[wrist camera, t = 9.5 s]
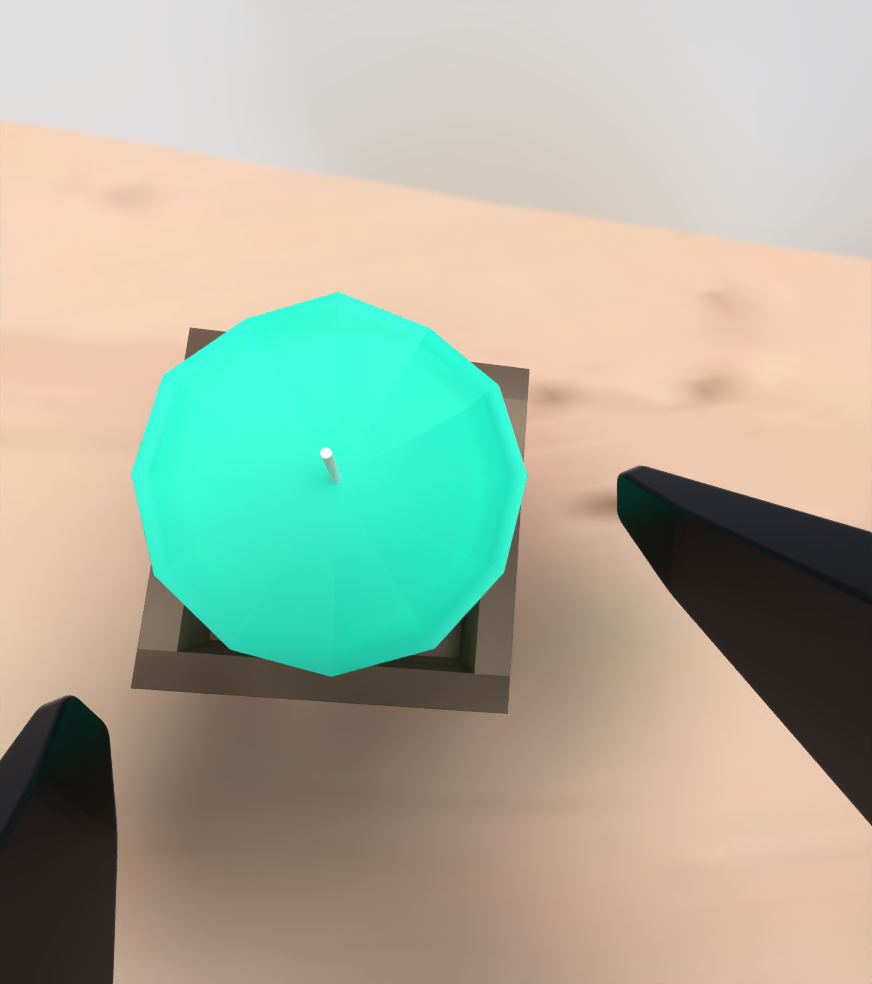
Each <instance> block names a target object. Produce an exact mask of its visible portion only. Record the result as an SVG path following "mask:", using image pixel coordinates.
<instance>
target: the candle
mask: <svg viewBox="0 0 872 984" xmlns="http://www.w3.org/2000/svg"><path fill="white" fill-rule="evenodd" d="M131 475H132V479H133V483H134V488H135V492H136V497H137V501H138V506H139V510H140V515H141V519H142V524H143V528H144V533H145V537H146V542H147V546H148V551H149V555H150V560H151V564H152V569H153V573H154V576H155V577H156V578H158V579H159V580H160V581H161V582H162V583H163V584H164V585H165V586H166V587H167V588H168V589H169V590H170V591H171V592H172V593H173V594H174V595H175V596H176V597H177V598H178V599H179V600H180V601H181V602H182V603H183V604H184V605H185V606H186V607H187V608H188V609H189V610H190V611H191V612H192V613H193V614H194V615H195V616H196V617H197V618H198V619H199V620H200V621H202V622H203V623H204V624H205V625H206V626H207V627H208V628H209V629H210V630H211V631H212V632H213V633H214V634H215V635H216V636H217V637H218V638H219V639H220V640H221V641H222V642H223V643H224V644H225V645H226V646H227V647H228V648H229V649H230V650H234V651H238V652H241V653H245V654H249V655H253V656H256V657H260V658H264V659H267V660H271V661H275V662H279V663H282V664H286V665H290V666H293V667H297V668H301V669H304V670H308V671H312V672H316V673H319V674H323V675H327V676H330V677H333V676H336V675H340V674H344V673H347V672H351V671H355V670H358V669H362V668H366V667H369V666H373V665H377V664H380V663H384V662H388V661H391V660H395V659H399V658H402V657H406V656H410V655H413V654H417V653H421V652H424V651H428V650H432V649H435V648H436V647H437V646H438V644H439V643H440V642H441V641H442V640H443V639H444V638H445V637H446V636H447V635H448V633H449V632H450V631H451V630H452V629H453V628H454V627H455V626H456V625H457V624H458V622H459V621H460V620H461V619H462V618H463V617H464V616H465V615H466V614H467V613H468V611H469V610H470V609H471V608H472V607H473V606H474V605H475V604H476V603H477V602H478V600H479V599H480V598H481V597H482V596H483V595H484V594H485V593H486V592H487V591H488V589H489V588H490V587H491V586H492V585H493V584H494V583H495V582H496V581H497V580H498V578H499V577H500V576H501V575H502V574H503V573H504V571H505V566H506V562H507V558H508V554H509V550H510V546H511V542H512V538H513V534H514V529H515V525H516V521H517V517H518V513H519V509H520V505H521V501H522V497H523V492H524V488H525V484H526V480H527V473H526V470H525V466H524V463H523V460H522V457H521V454H520V450H519V447H518V444H517V441H516V438H515V435H514V431H513V428H512V425H511V422H510V419H509V416H508V412H507V409H506V406H505V403H504V400H503V396H502V393H501V390H500V387H499V385H498V384H497V383H495V382H494V381H493V380H492V379H491V378H489V377H488V376H487V375H486V374H485V373H483V372H482V371H481V370H480V369H478V368H477V367H476V366H475V365H474V364H472V363H471V362H470V361H469V360H468V359H466V358H465V357H464V356H463V355H462V354H460V353H459V352H458V351H457V350H455V349H454V348H453V347H452V346H451V345H449V344H448V343H447V342H446V341H445V340H443V339H442V338H441V337H440V336H438V335H437V334H436V333H435V332H434V331H432V330H431V329H430V328H428V327H426V326H423V325H421V324H418V323H416V322H413V321H411V320H408V319H405V318H403V317H400V316H398V315H395V314H393V313H390V312H388V311H385V310H383V309H380V308H378V307H375V306H373V305H370V304H367V303H365V302H362V301H360V300H357V299H355V298H352V297H350V296H347V295H345V294H342V293H340V292H337V293H333V294H330V295H326V296H323V297H320V298H316V299H313V300H309V301H306V302H302V303H299V304H296V305H292V306H289V307H285V308H282V309H278V310H275V311H272V312H268V313H265V314H261V315H258V316H254V317H251V318H248V319H245V320H243V321H242V322H240V323H239V324H237V325H236V326H235V327H233V328H232V329H230V330H229V331H227V332H226V333H224V334H223V335H221V336H220V337H218V338H217V339H215V340H214V341H213V342H211V343H210V344H208V345H207V346H205V347H204V348H202V349H201V350H199V351H198V352H196V353H195V354H194V355H192V356H191V357H189V358H188V359H186V360H185V361H183V362H182V363H180V364H179V365H177V366H176V367H174V368H173V369H172V370H170V371H169V372H167V373H166V374H164V375H163V377H162V380H161V383H160V386H159V390H158V393H157V396H156V399H155V402H154V405H153V408H152V411H151V414H150V417H149V420H148V423H147V426H146V430H145V433H144V436H143V439H142V442H141V445H140V448H139V451H138V454H137V457H136V460H135V463H134V467H133V470H132V473H131Z"/></svg>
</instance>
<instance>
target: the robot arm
mask: <svg viewBox="0 0 872 984" xmlns="http://www.w3.org/2000/svg"><path fill="white" fill-rule="evenodd" d="M617 512H618V516H619V519H620V521H621V523H622V524H623V526H624V527H625V529H626V530H627V532H628V533H629V535H630V536H631V537H632V539H633V540H634V542H635V543H636V545H637V546H638V548H639V549H640V551H641V552H642V553H643V555H644V556H645V558H646V559H647V561H648V562H649V564H650V565H651V567H652V568H653V569H654V571H655V572H656V574H657V575H658V577H659V578H660V580H661V581H662V582H663V584H664V585H665V586H666V588H667V589H668V591H669V592H670V593H671V594H672V596H673V597H674V598H675V599H676V600H677V602H678V603H679V604H680V605H681V606H682V607H683V609H684V610H685V611H686V612H687V613H688V614H689V616H690V617H691V618H692V619H693V620H694V621H695V622H696V624H697V625H698V626H699V627H700V628H701V629H702V631H703V632H704V633H705V634H706V635H707V636H708V637H709V639H710V640H711V641H712V642H713V643H714V644H715V646H716V647H717V648H718V649H719V650H720V651H721V652H722V654H723V655H724V656H725V657H726V658H727V659H728V661H729V662H730V663H731V664H732V665H733V666H734V667H735V669H736V670H737V671H738V672H739V673H740V674H741V676H742V677H743V678H744V679H745V680H746V681H747V682H748V684H749V685H750V686H751V687H752V688H753V689H754V691H755V692H756V693H757V694H758V695H759V696H760V698H761V699H762V700H763V701H764V702H765V703H766V704H767V706H768V707H769V708H770V709H771V710H772V711H773V713H774V714H775V715H776V716H777V717H778V718H779V719H780V721H781V722H782V723H783V724H784V725H785V726H786V728H787V729H788V730H789V731H790V732H791V733H792V734H793V736H794V737H795V738H796V739H797V740H798V741H799V743H800V744H801V745H802V746H803V747H804V748H805V749H806V751H807V752H808V753H809V754H810V755H811V756H812V758H813V759H814V760H815V761H816V762H817V763H818V764H819V766H820V767H821V768H822V769H823V770H824V771H825V773H826V774H827V775H828V776H829V777H830V778H831V779H832V781H833V782H834V783H835V784H836V785H837V786H838V788H839V789H840V790H841V791H842V792H843V793H844V794H845V796H846V797H847V798H848V799H849V800H850V801H851V803H852V804H853V805H854V806H855V807H856V808H857V809H858V811H859V812H860V813H861V814H862V815H863V816H864V818H865V819H866V820H867V821H868V822H869V823H870V825H871V826H872V532H870V531H866V530H863V529H860V528H856V527H853V526H849V525H846V524H842V523H839V522H835V521H832V520H829V519H825V518H822V517H818V516H815V515H811V514H808V513H805V512H801V511H798V510H794V509H791V508H787V507H784V506H780V505H777V504H774V503H770V502H767V501H763V500H760V499H756V498H753V497H750V496H746V495H743V494H739V493H736V492H732V491H729V490H725V489H722V488H719V487H715V486H712V485H708V484H705V483H701V482H698V481H695V480H691V479H688V478H684V477H681V476H677V475H674V474H670V473H667V472H664V471H660V470H657V469H653V468H650V467H646V466H637V467H634V468H632V469H629V470H627V471H624V472H622V473H621V474H619V476H618V478H617ZM116 879H117V819H116V807H115V795H114V784H113V772H112V760H111V748H110V738H109V733H108V730H107V727H106V725H105V724H104V722H103V721H102V720H101V719H100V718H99V717H98V716H97V715H95V714H94V713H93V712H92V711H91V710H90V709H89V708H88V707H87V706H86V705H85V704H84V703H82V702H81V701H80V700H79V699H78V698H77V697H75V696H71V695H69V696H64V697H62V698H59V699H57V700H54V701H52V702H49V703H47V704H44V705H43V706H41V707H40V708H39V709H38V710H37V711H36V712H35V713H34V715H33V716H32V717H31V719H30V720H29V721H28V723H27V724H26V726H25V727H24V728H23V730H22V731H21V732H20V734H19V735H18V736H17V738H16V739H15V741H14V742H13V743H12V745H11V746H10V747H9V749H8V750H7V752H6V753H5V754H4V756H3V757H2V758H1V760H0V984H113V971H114V940H115V909H116Z"/></svg>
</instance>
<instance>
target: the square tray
mask: <svg viewBox="0 0 872 984" xmlns="http://www.w3.org/2000/svg"><path fill="white" fill-rule="evenodd" d="M224 333H226V332H222V331H214V330H206V329H198V328H190V330H189V336H188V342H187V349H186V355H185V360H186V359H188V358H189V357H191V356H192V355H194V354H195V353H196V352H198V351H199V350H201V349H202V348H204V347H205V346H207V345H208V344H210V343H211V342H213V341H214V340H215V339H217V338H218V337H220V336H221V335H223V334H224ZM471 363H472V364H474V365H475V366H476V367H477V368H478V369H480V370H481V371H482V372H483V373H485V374H486V375H487V376H488V377H489V378H491V379H492V380H493V381H494V382H495V383H497V384H498V385H499V387H500V390H501V393H502V396H503V400H504V403H505V406H506V409H507V412H508V416H509V419H510V422H511V425H512V428H513V431H514V435H515V438H516V441H517V444H518V447H519V450H520V454H521V457H522V460H523V462H524V447H525V431H526V415H527V399H528V383H529V369H524V368H516V367H508V366H500V365H492V364H483V363H475V362H471ZM520 510H521V505H520V509H519V513H518V517H517V521H516V525H515V529H514V534H513V538H512V542H511V546H510V550H509V554H508V558H507V562H506V566H505V571H504V573H503V574H502V575H501V576H500V577H499V578H498V580H497V581H496V582H495V583H494V584H493V585H492V586H491V587H490V588H489V589H488V591H487V592H486V593H485V594H484V595H483V596H482V597H481V598H480V599H479V600H478V602H477V603H476V604H475V605H474V606H473V607H472V608H471V609H470V610H469V611H468V613H467V614H466V615H465V616H464V617H463V618H462V619H461V620H460V621H459V622H458V624H457V625H456V626H455V627H454V628H453V629H452V630H451V631H450V632H449V633H448V635H447V636H446V637H445V638H444V639H443V640H442V641H441V642H440V643H439V644H438V646H437V647H436V648H435V649H432V650H428V651H424V652H421V653H417V654H413V655H410V656H406V657H402V658H399V659H395V660H391V661H388V662H384V663H380V664H377V665H373V666H369V667H366V668H362V669H358V670H355V671H351V672H347V673H344V674H340V675H336V676H333V677H330V676H327V675H323V674H319V673H316V672H312V671H308V670H304V669H301V668H297V667H293V666H290V665H286V664H282V663H279V662H275V661H271V660H267V659H264V658H260V657H256V656H253V655H249V654H245V653H241V652H238V651H234V650H230V649H229V648H228V647H227V646H226V645H225V644H224V643H223V642H222V641H221V640H220V639H219V638H218V637H217V636H216V635H215V634H214V633H213V632H212V631H211V630H210V629H209V628H208V627H207V626H206V625H205V624H204V623H203V622H202V621H200V620H199V619H198V618H197V617H196V616H195V615H194V614H193V613H192V612H191V611H190V610H189V609H188V608H187V607H186V606H185V605H184V604H183V603H182V602H181V601H180V600H179V599H178V598H177V597H176V596H175V595H174V594H173V593H172V592H171V591H170V590H169V589H168V588H167V587H166V586H165V585H164V584H163V583H162V582H161V581H160V580H159V579H158V578H156V577H155V576H154V573H153V569H152V564H151V569H150V575H149V581H148V587H147V593H146V599H145V605H144V611H143V617H142V624H141V630H140V636H139V642H138V648H137V654H136V660H135V666H134V672H133V679H132V685H131V688H133V689H148V690H163V691H178V692H192V693H207V694H222V695H237V696H252V697H266V698H281V699H296V700H311V701H325V702H340V703H355V704H370V705H385V706H399V707H414V708H429V709H444V710H458V711H473V712H488V713H503V714H508V699H509V683H510V667H511V652H512V636H513V620H514V604H515V589H516V573H517V557H518V541H519V525H520Z"/></svg>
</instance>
